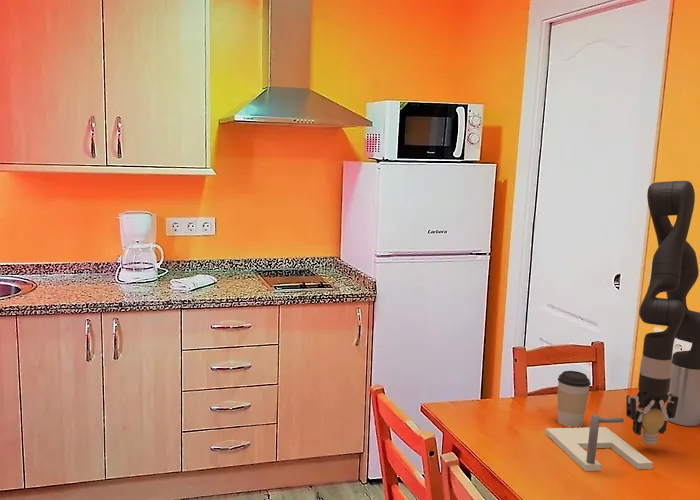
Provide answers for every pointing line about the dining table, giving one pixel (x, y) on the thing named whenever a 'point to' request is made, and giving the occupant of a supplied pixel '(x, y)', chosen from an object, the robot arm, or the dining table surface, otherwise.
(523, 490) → the dining table surface
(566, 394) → the coffee cup
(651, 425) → the light bulb
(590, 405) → the dining table surface
